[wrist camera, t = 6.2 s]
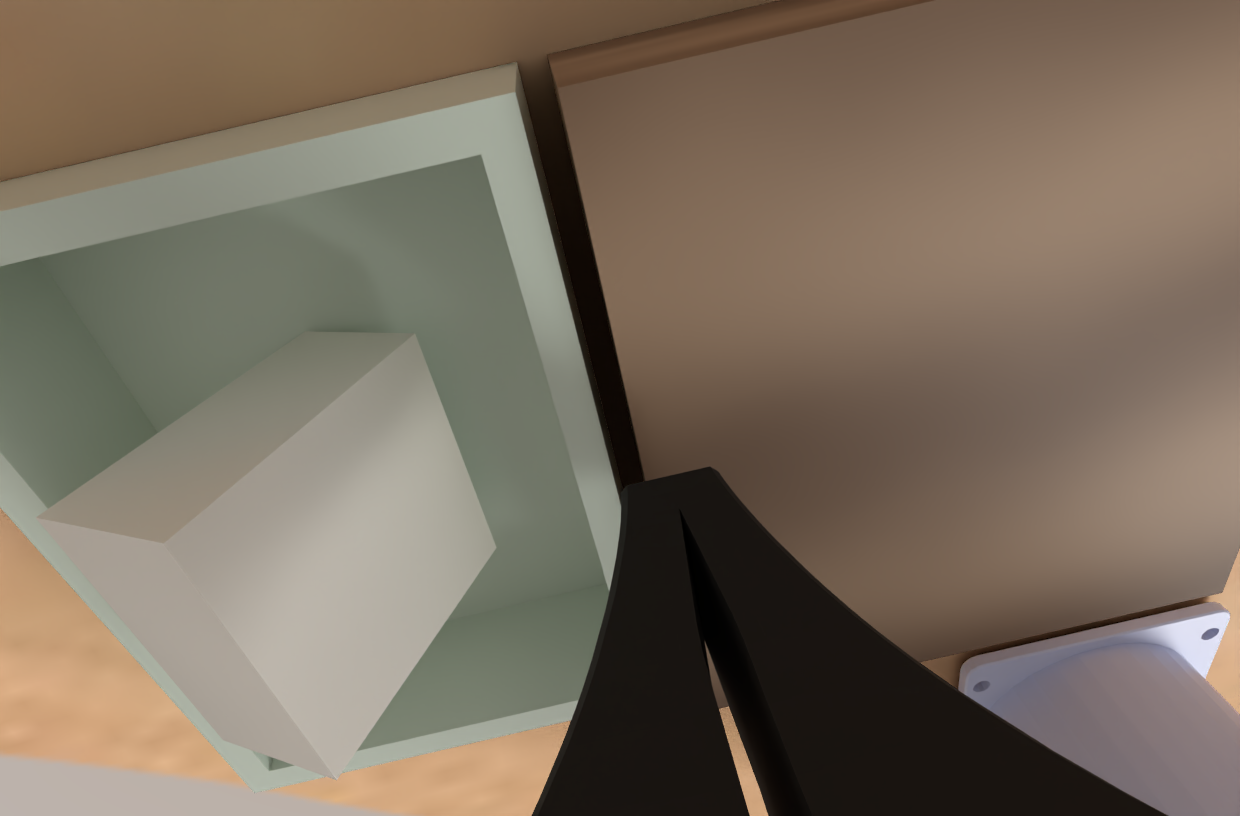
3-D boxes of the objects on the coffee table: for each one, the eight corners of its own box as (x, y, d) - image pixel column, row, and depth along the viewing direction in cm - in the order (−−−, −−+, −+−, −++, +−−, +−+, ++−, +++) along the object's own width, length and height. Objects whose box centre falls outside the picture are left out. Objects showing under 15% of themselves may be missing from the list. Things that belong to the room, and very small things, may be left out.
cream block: (336, 780, 11) (223, 740, 12) (496, 547, 14) (400, 532, 15) (163, 544, 8) (35, 517, 9) (415, 333, 12) (304, 331, 13)
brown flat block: (1088, 474, 18) (1222, 592, 14) (664, 572, 18) (698, 713, 14) (1212, -100, 11) (1507, -133, 8) (546, 54, 11) (557, 88, 8)
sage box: (645, 577, 18) (669, 697, 15) (299, 657, 18) (254, 793, 15) (516, 61, 11) (515, 92, 8) (-25, 187, 11) (-218, 262, 8)
